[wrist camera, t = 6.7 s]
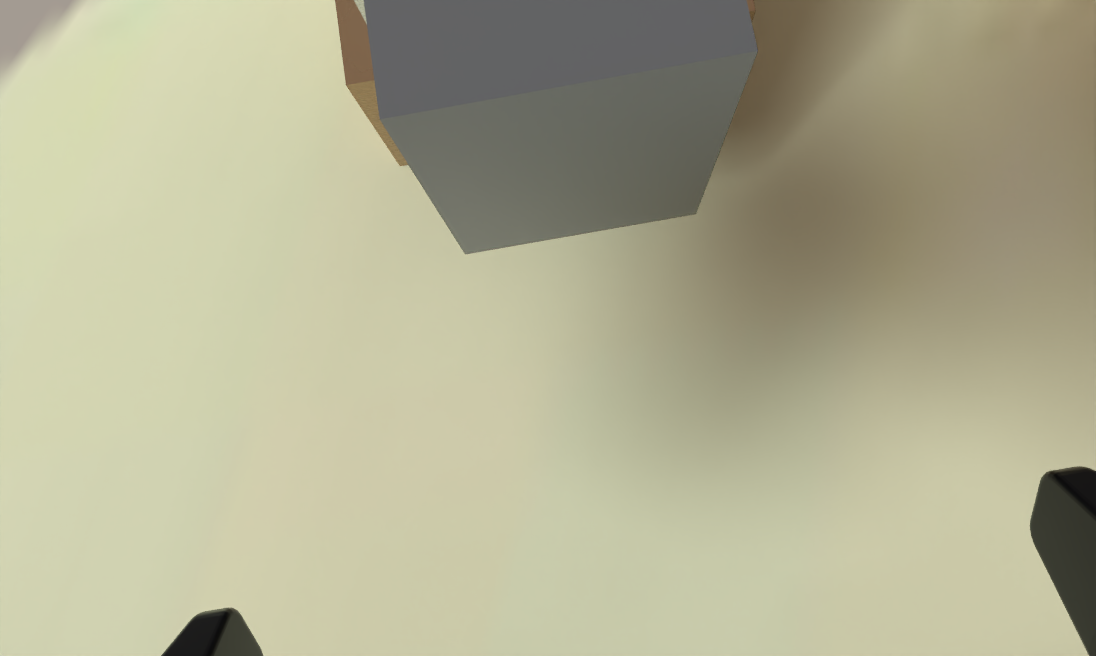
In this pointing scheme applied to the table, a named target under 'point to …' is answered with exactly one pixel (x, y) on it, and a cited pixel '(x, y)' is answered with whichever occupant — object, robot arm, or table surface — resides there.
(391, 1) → the plunger
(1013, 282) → the table surface
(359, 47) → the grey brown block
